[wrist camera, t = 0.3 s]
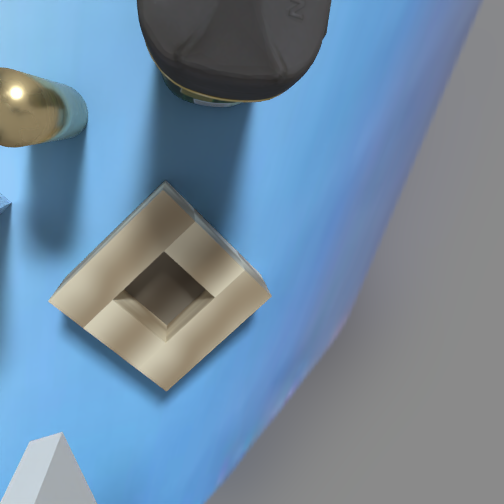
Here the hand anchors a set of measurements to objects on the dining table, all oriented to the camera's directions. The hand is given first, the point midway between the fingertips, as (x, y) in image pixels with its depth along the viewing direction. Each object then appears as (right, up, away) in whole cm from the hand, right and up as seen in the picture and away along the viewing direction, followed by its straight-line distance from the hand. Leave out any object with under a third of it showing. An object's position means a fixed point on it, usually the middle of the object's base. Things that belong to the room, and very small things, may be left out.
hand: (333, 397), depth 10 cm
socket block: (-10, +2, +26) cm, 28 cm away
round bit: (-17, +14, +21) cm, 30 cm away
